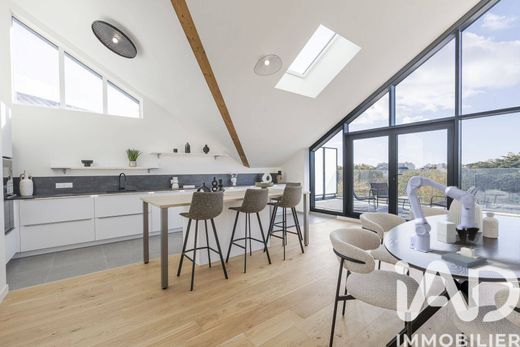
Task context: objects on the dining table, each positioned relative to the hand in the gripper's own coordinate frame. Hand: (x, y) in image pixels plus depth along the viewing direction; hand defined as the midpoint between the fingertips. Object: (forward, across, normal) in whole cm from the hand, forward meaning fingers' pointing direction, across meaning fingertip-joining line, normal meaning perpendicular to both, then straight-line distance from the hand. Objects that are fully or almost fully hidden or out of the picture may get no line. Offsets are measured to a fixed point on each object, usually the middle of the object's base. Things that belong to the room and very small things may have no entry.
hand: (467, 241), depth 133 cm
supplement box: (+10, +23, +23) cm, 34 cm away
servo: (+10, -1, -1) cm, 10 cm away
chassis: (+10, -4, -1) cm, 10 cm away
